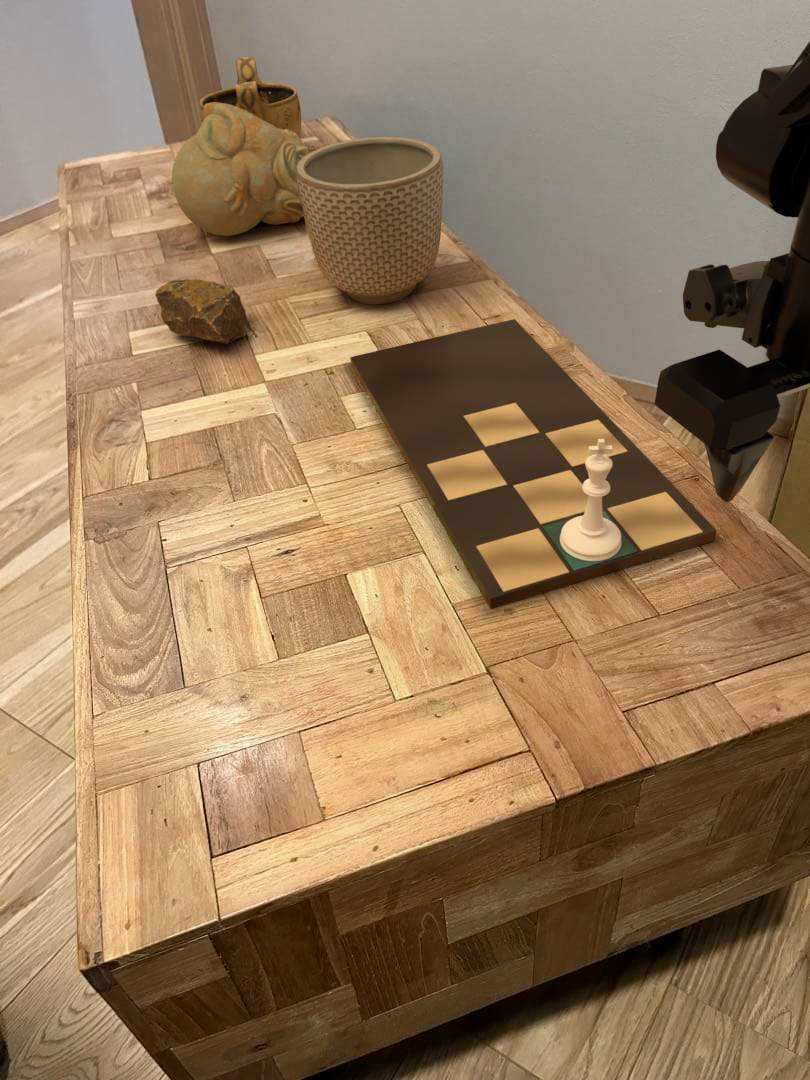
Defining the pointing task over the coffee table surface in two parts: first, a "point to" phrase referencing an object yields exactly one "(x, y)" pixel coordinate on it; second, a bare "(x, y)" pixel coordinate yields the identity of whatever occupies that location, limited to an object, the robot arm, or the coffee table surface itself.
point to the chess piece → (593, 513)
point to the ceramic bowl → (260, 98)
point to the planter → (373, 214)
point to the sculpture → (238, 172)
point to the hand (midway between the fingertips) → (779, 476)
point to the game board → (518, 459)
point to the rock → (202, 310)
